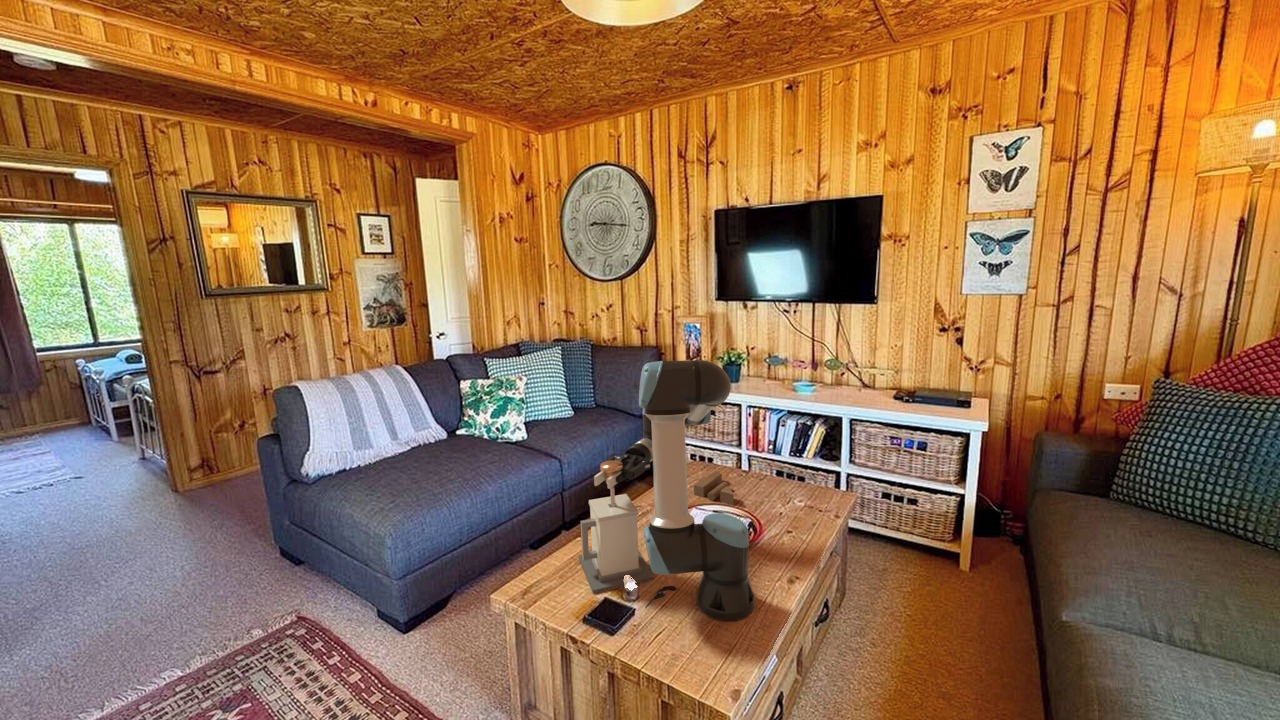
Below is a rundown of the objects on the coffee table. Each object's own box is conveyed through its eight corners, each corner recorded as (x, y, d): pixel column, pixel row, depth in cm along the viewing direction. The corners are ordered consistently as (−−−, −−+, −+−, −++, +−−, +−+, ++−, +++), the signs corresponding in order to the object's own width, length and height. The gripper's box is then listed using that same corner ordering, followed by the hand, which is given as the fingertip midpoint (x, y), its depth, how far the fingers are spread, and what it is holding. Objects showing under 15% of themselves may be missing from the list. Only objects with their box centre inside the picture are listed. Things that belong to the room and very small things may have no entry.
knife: (665, 584, 144) (665, 582, 144) (677, 589, 142) (677, 587, 142) (638, 614, 132) (638, 612, 132) (652, 620, 130) (652, 618, 130)
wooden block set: (692, 482, 197) (714, 467, 211) (692, 496, 198) (714, 480, 212) (732, 493, 187) (752, 476, 201) (732, 507, 188) (752, 489, 202)
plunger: (627, 541, 147) (625, 467, 143) (606, 545, 145) (603, 470, 141) (621, 530, 153) (619, 459, 149) (600, 534, 151) (597, 462, 147)
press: (641, 572, 147) (640, 511, 144) (588, 584, 142) (585, 521, 139) (628, 550, 159) (626, 492, 155) (579, 560, 154) (576, 501, 150)
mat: (654, 579, 146) (654, 576, 146) (592, 593, 140) (592, 590, 140) (634, 547, 163) (634, 544, 162) (578, 558, 157) (578, 555, 157)
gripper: (665, 469, 158) (628, 501, 138) (618, 461, 166) (577, 489, 146) (664, 446, 157) (627, 475, 137) (617, 439, 165) (576, 464, 144)
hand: (601, 482), depth 141 cm, fingers closed on plunger, 4 cm apart
